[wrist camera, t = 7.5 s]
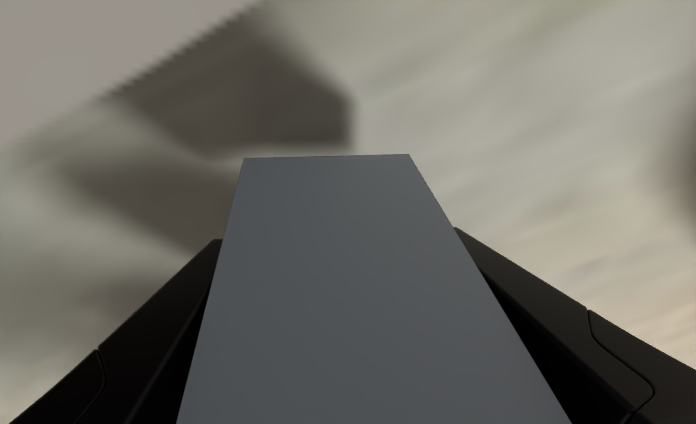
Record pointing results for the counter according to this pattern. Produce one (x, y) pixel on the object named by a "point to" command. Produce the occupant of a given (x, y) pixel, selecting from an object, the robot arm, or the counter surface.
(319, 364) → the domino
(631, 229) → the counter surface
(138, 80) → the counter surface
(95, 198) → the counter surface
